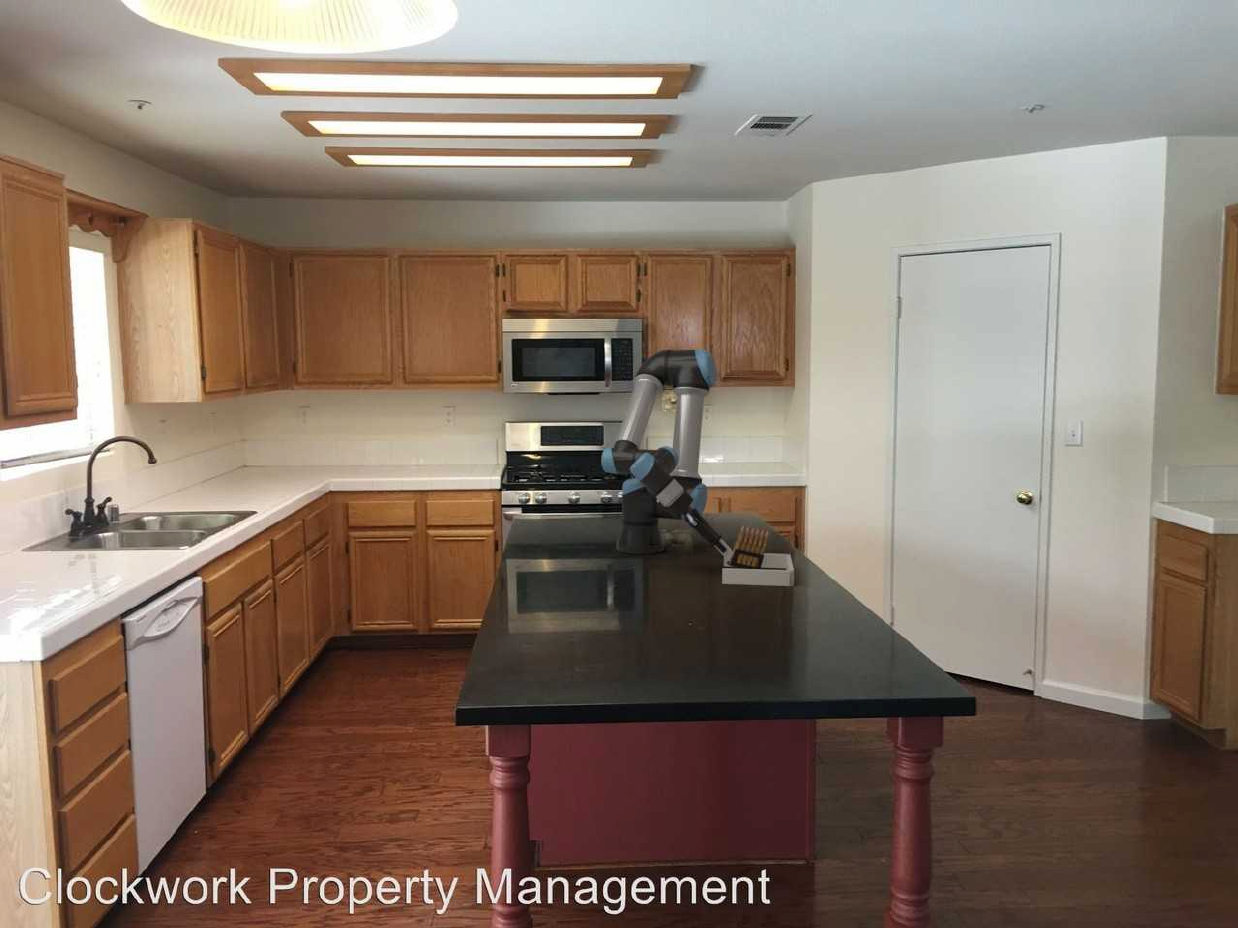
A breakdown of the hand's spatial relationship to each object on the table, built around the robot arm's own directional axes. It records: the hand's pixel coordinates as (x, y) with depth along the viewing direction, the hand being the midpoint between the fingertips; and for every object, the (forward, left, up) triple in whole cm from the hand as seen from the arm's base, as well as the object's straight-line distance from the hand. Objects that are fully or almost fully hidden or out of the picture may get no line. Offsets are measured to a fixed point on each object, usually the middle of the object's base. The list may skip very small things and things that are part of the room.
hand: (733, 558), depth 261 cm
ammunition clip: (-2, +3, -3) cm, 5 cm away
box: (0, +6, -5) cm, 8 cm away
